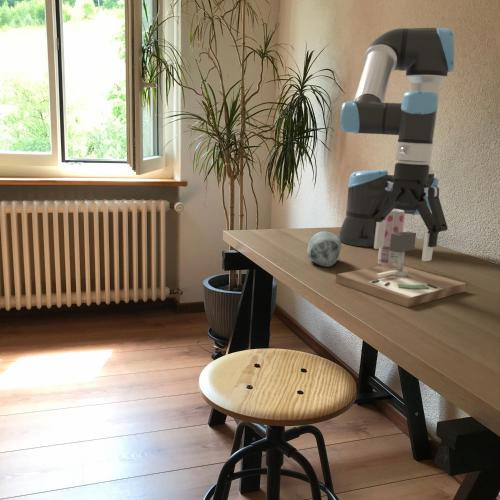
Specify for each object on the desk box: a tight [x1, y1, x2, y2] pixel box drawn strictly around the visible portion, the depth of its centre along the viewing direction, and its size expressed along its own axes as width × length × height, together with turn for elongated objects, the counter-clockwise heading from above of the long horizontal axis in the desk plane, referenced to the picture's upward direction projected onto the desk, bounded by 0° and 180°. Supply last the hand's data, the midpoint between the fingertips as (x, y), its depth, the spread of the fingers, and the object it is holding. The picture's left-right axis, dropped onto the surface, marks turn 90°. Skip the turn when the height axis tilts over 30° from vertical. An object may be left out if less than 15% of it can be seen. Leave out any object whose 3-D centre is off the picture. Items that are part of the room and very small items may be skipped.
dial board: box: [335, 263, 467, 308], centre depth 121 cm, size 22×20×2 cm
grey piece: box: [376, 231, 417, 277], centre depth 121 cm, size 11×4×10 cm, turn 128°
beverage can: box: [377, 209, 406, 266], centre depth 140 cm, size 6×6×15 cm
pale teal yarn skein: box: [306, 231, 342, 268], centre depth 140 cm, size 14×10×10 cm
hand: (401, 254), depth 123 cm, fingers open, 13 cm apart
